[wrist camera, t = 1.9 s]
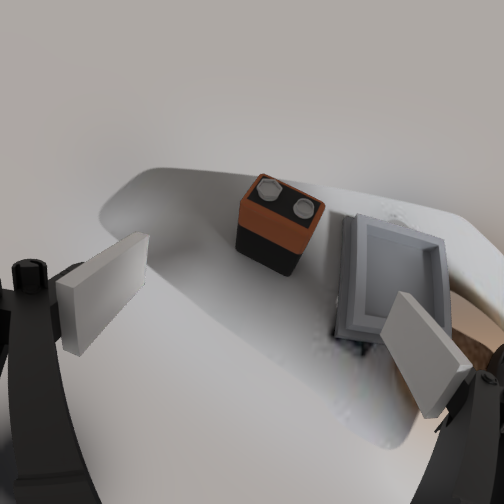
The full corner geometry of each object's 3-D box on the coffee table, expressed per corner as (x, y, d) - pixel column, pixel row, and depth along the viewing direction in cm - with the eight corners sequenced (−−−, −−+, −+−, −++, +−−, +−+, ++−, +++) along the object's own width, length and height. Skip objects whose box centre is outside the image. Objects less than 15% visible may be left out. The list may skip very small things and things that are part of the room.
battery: (251, 222, 35) (262, 163, 26) (303, 248, 34) (331, 196, 25) (233, 250, 33) (238, 195, 24) (288, 279, 32) (313, 232, 23)
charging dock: (441, 350, 30) (456, 345, 27) (334, 337, 30) (345, 330, 27) (435, 246, 37) (447, 235, 34) (342, 219, 37) (351, 206, 34)
